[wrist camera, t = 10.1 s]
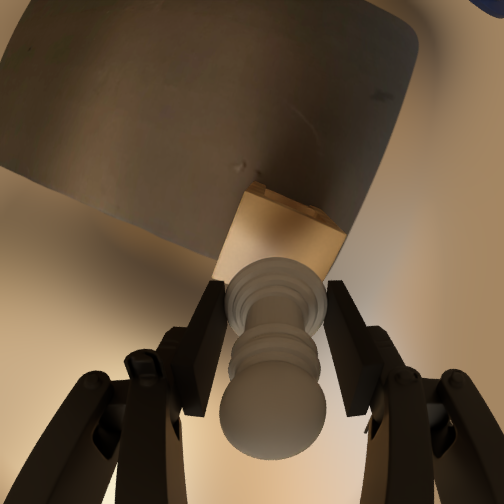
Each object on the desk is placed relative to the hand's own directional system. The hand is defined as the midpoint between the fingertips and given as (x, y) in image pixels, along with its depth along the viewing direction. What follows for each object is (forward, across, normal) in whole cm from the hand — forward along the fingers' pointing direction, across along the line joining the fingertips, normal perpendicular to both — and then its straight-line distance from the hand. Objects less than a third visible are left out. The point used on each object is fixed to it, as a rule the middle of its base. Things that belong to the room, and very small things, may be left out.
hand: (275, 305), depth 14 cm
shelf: (+21, 0, 0) cm, 21 cm away
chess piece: (0, 0, 0) cm, 0 cm away
